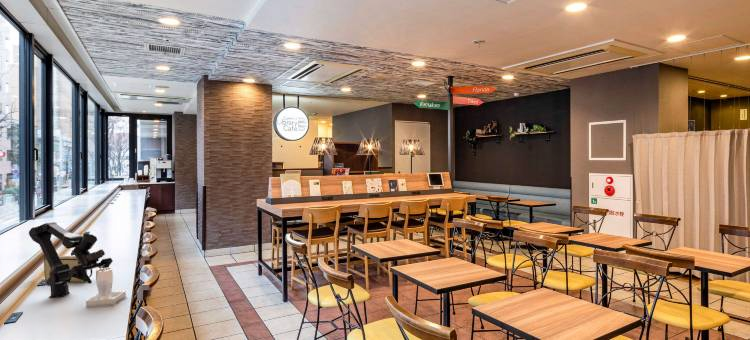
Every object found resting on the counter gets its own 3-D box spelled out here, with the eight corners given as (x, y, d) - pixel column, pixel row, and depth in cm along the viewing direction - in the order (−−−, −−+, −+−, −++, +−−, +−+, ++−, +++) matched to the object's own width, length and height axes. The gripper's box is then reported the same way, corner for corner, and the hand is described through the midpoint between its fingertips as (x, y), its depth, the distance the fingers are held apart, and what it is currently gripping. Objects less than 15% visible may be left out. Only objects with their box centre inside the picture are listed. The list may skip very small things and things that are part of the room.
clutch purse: (96, 279, 237) (95, 254, 237) (86, 283, 230) (84, 256, 230) (52, 278, 242) (51, 253, 241) (41, 281, 235) (40, 256, 235)
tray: (86, 307, 191) (85, 300, 191) (100, 298, 203) (99, 292, 203) (113, 305, 192) (113, 299, 192) (125, 296, 204) (125, 291, 204)
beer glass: (110, 301, 195) (109, 270, 194) (94, 303, 193) (93, 272, 193) (116, 297, 202) (115, 267, 201) (100, 298, 200) (99, 268, 199)
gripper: (71, 249, 191) (89, 274, 188) (109, 241, 209) (126, 264, 205) (61, 264, 194) (77, 290, 191) (99, 255, 212) (115, 278, 208)
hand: (100, 280), depth 199 cm, fingers open, 9 cm apart
